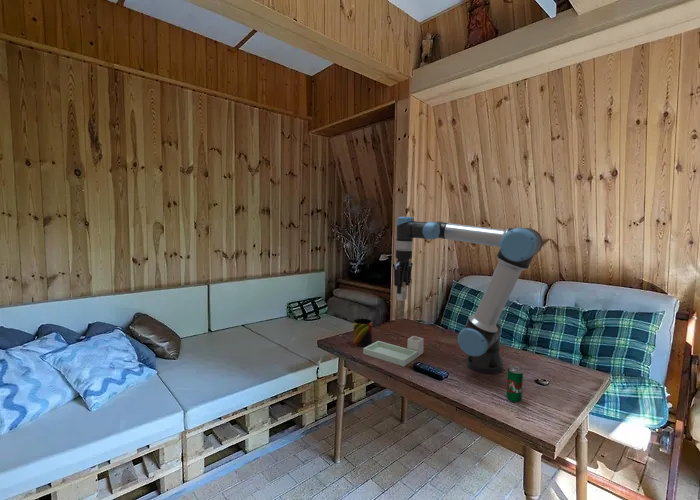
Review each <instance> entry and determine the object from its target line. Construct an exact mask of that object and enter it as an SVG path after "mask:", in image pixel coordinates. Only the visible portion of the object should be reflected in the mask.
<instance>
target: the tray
mask: <svg viewBox="0 0 700 500" xmlns="http://www.w3.org/2000/svg"><path fill="white" fill-rule="evenodd" d="M362 354H363V355H366V356H368V357H372V358H375V359H378V360H381V361H385V362H387V363H390V364H395V365H397V366H400V367H405V366H407V365H408V364H410V363H411V362H413V361H414V360H416V359H417V358H418V357H419V356H418V351H414V350H410V349H407V348H406V347H402V346H399V345H395V344H391V343H388V342H384V341H380V340H376V342H372V344H371V345H369V346H367V347H362Z"/></svg>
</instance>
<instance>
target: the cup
mask: <svg viewBox="0 0 700 500" xmlns="http://www.w3.org/2000/svg"><path fill="white" fill-rule="evenodd" d="M424 342H425V339H424V337H419V336H416V335H412V336H410V337H408V338H407V345H406V346H407V349H410V350H414V351H418V357H420V356H421V355H422V354H424Z"/></svg>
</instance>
